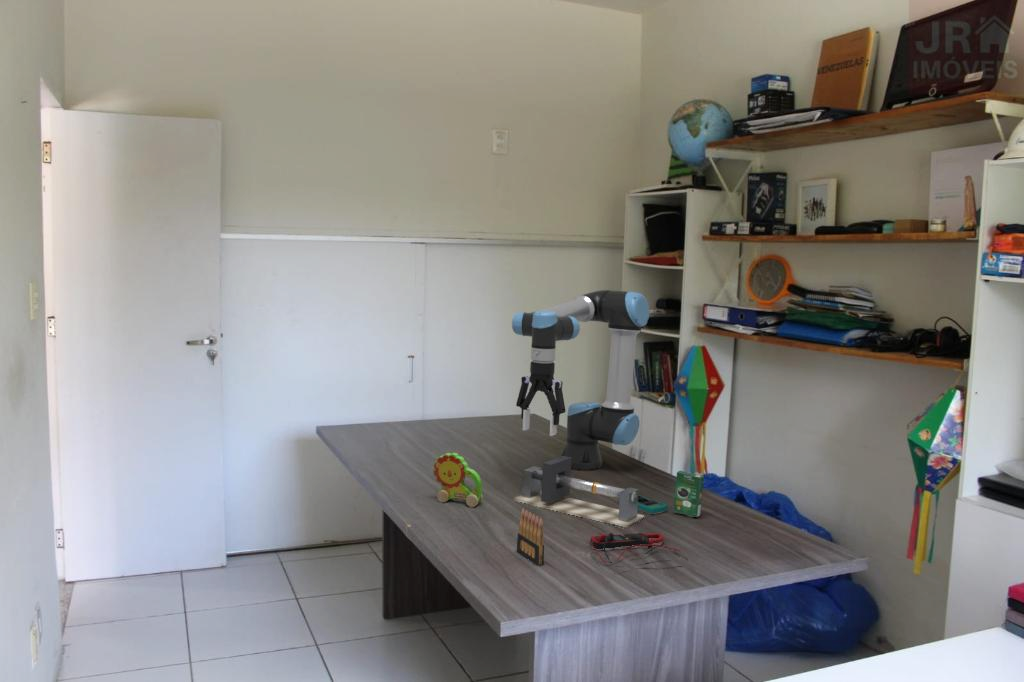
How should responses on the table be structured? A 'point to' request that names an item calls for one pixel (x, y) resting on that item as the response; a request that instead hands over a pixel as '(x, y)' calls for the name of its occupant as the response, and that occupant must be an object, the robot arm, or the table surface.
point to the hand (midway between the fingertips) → (539, 432)
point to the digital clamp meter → (625, 541)
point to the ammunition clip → (531, 538)
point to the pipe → (626, 496)
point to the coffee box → (688, 493)
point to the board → (579, 509)
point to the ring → (549, 477)
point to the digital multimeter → (650, 505)
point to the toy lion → (456, 479)
